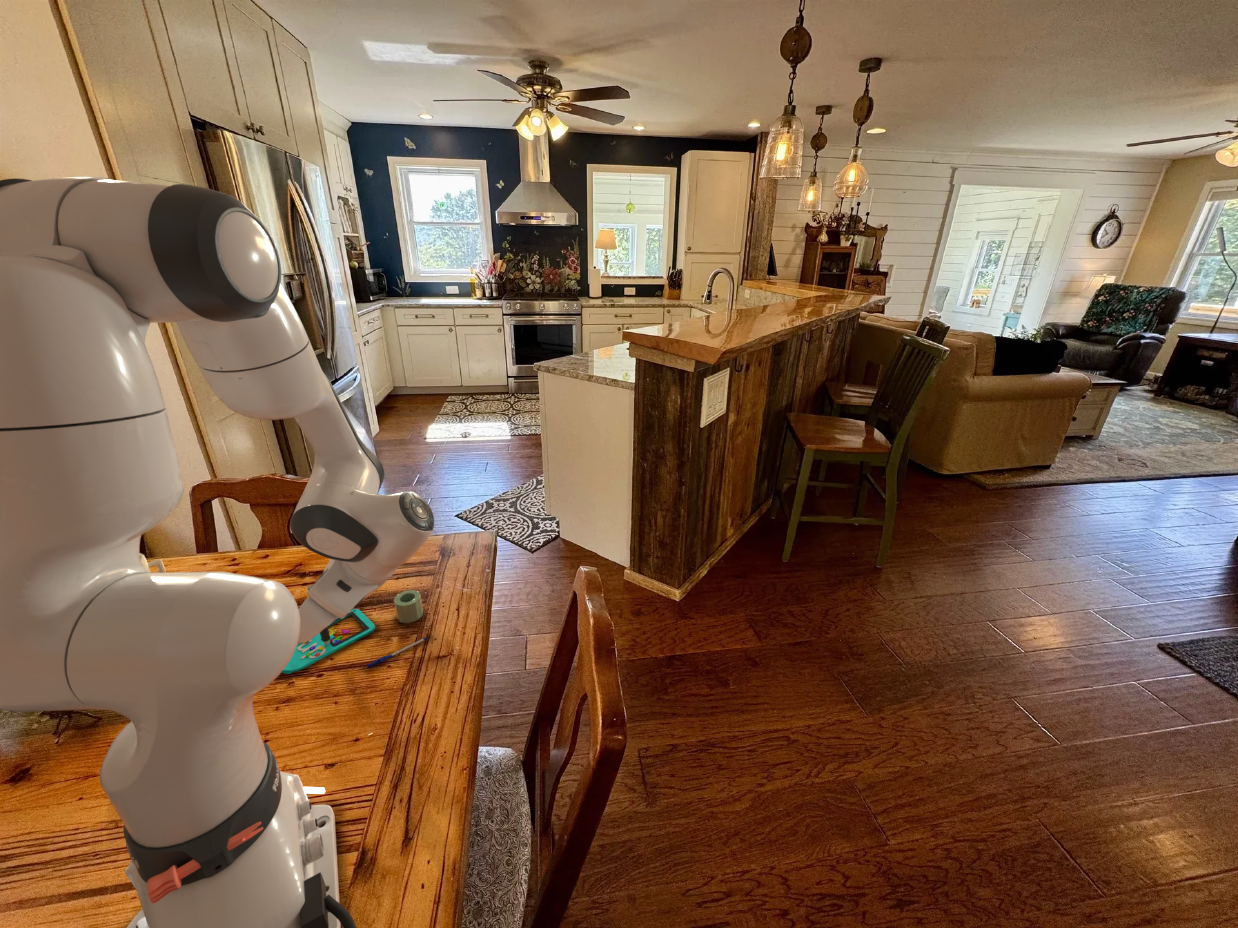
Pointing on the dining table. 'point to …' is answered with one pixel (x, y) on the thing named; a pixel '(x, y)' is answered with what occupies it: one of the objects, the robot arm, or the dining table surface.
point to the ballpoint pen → (393, 654)
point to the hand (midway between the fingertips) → (315, 612)
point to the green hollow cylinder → (408, 606)
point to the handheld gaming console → (317, 648)
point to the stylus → (324, 631)
